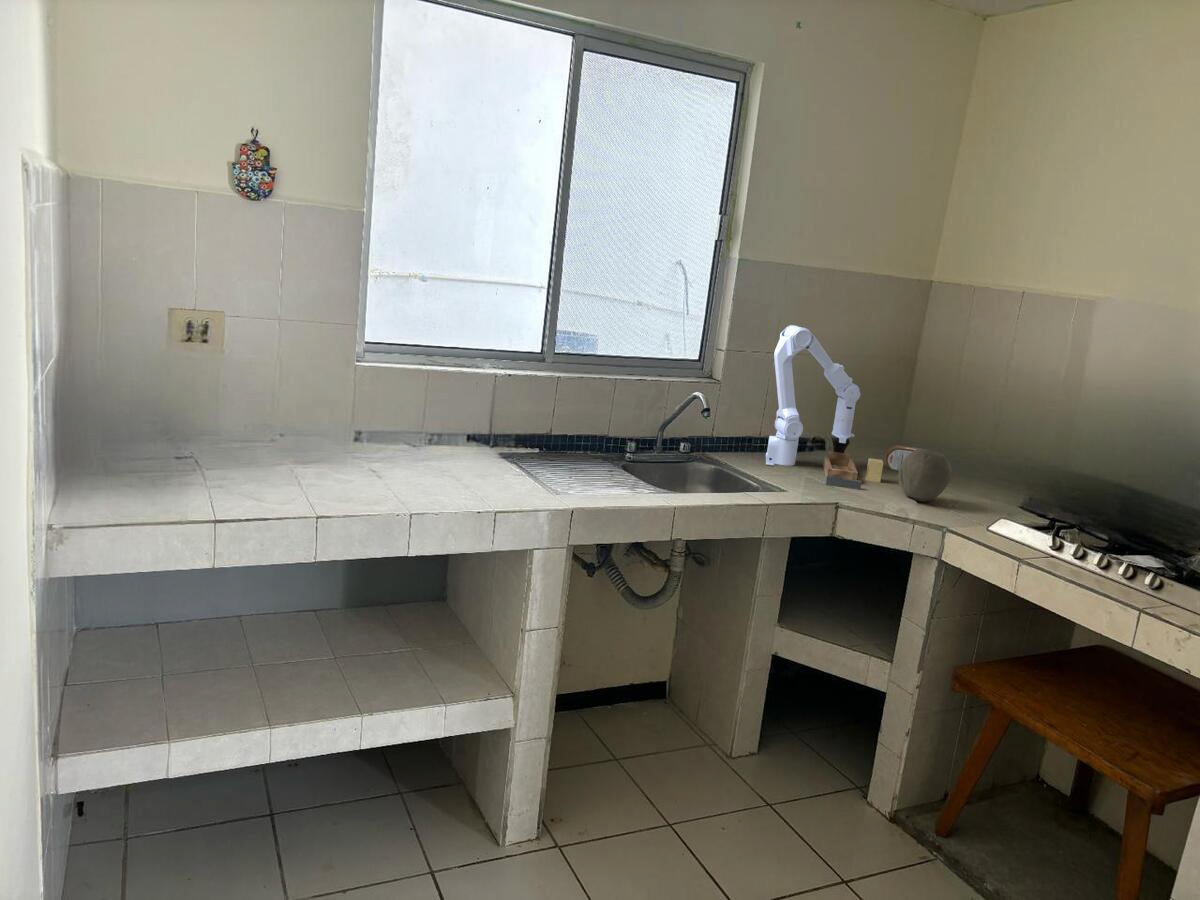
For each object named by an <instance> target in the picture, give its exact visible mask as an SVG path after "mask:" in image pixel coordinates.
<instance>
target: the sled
mask: <svg viewBox="0 0 1200 900" xmlns="http://www.w3.org/2000/svg"><path fill="white" fill-rule="evenodd" d="M822 465H823V470H824V473H825V474H824V475H825V477H826V476H830V477H837V478H845V479H852V480H857V479H858V473H859V472H858V470H857V467H856V465H855V463H854V459H853V458H850V453H845V452H844V453H838V452H833V451H829V452H828V455H824V459H823V464H822Z"/></svg>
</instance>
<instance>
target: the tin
mask: <svg viewBox="0 0 1200 900" xmlns="http://www.w3.org/2000/svg"><path fill="white" fill-rule="evenodd" d="M917 449H922V448H920V447H913V446H903V445H893V446H891V447H889V448H888V449H887V450H886V451H885V453H884V456H883V460H884V461H883V463H885V464H884V465H885V466H887V468H888V469H889V470H896V471H898V472H899V469H900V466H901V464H902V462H903V461H904V459H905V458H906V457H907V456H908V454H910V453H911V452H912V451H914V450H917Z"/></svg>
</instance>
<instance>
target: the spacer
mask: <svg viewBox="0 0 1200 900" xmlns="http://www.w3.org/2000/svg"><path fill="white" fill-rule="evenodd" d="M883 467H884V461H883V459H878V458H877V459H876V458H871V457H870V458H868V461H867V465H866V471H865V480H866V482H873V483H881V479H882V475H883V474H882V473H883V469H884V468H883Z"/></svg>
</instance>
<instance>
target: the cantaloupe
mask: <svg viewBox="0 0 1200 900" xmlns="http://www.w3.org/2000/svg"><path fill="white" fill-rule="evenodd" d="M952 474H953V469H952V466H951V463H950V461H949V459H948V458H947V457H946V456H945V454H943V453H941V452H939V451H937V450H933V449H930V448H929V449H928V448H921V449H917V450H914V451H912V452H911V453H910V454H908V456H907V457H906V458H905V459H904V461H903V462H902V464H901V466H900V469H899V471H898V475H897V476H898V478H897V479H898V483H899V486H900V489H901V491H902V492H903V493H904V494H905V495H906V496H907V497H909V498H911V499H913V500H914V501H916V502H921V503H922V502H928V501H931V500H934V499H936V498H937V497H938V496H940V495H941V494H942V493H943V492H944V490H945V489H946V488H947V486H948V484H949V483H950V481H951V478H952Z"/></svg>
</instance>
